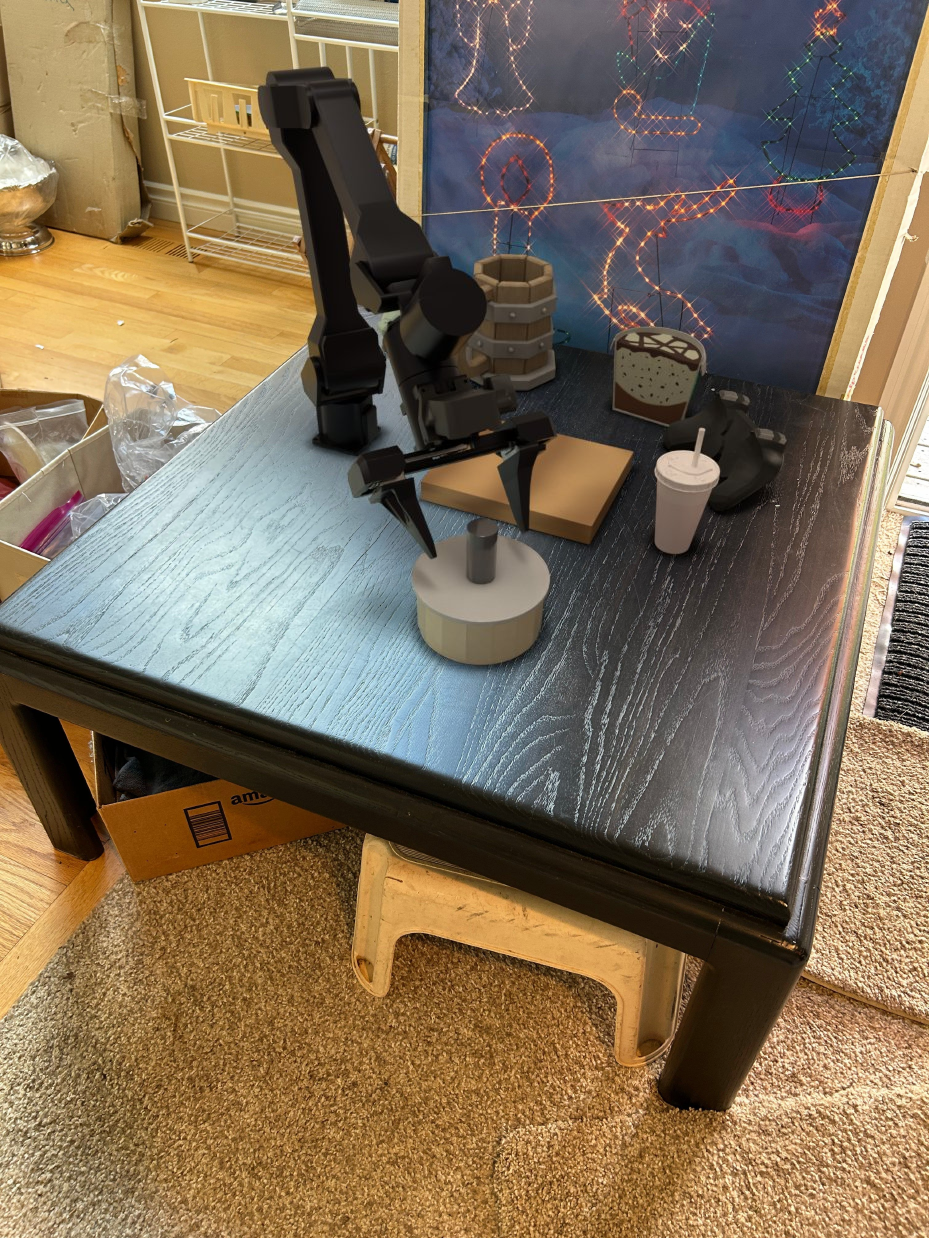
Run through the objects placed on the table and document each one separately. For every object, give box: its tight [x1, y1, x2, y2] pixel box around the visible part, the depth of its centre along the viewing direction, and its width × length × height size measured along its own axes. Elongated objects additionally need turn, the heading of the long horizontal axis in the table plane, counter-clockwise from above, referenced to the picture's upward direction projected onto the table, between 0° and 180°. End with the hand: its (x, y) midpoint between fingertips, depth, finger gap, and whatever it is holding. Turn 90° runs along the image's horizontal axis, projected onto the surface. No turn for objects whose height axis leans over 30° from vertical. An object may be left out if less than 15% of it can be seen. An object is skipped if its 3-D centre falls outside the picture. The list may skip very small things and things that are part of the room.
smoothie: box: [654, 428, 720, 555], centre depth 92 cm, size 6×6×14 cm
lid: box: [411, 517, 551, 626], centre depth 82 cm, size 13×13×7 cm
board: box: [420, 420, 634, 546], centre depth 104 cm, size 20×16×2 cm
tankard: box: [454, 253, 558, 392], centre depth 119 cm, size 20×13×15 cm, turn 133°
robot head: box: [376, 310, 401, 337], centre depth 127 cm, size 8×4×7 cm, turn 134°
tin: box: [416, 596, 545, 666], centre depth 85 cm, size 12×12×5 cm
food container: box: [609, 326, 707, 428], centre depth 114 cm, size 12×6×10 cm, turn 58°
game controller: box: [663, 389, 787, 512], centre depth 105 cm, size 16×7×10 cm, turn 14°
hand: (480, 544), depth 81 cm, fingers open, 9 cm apart
